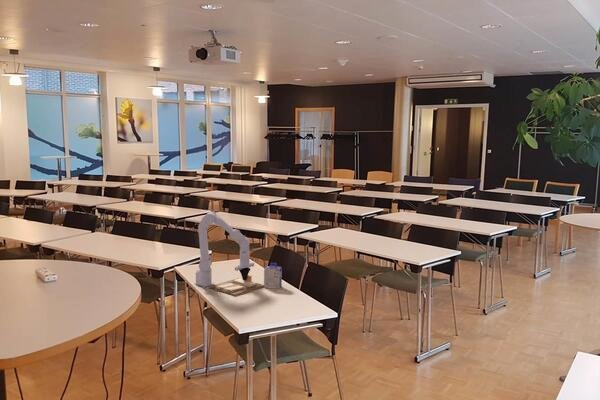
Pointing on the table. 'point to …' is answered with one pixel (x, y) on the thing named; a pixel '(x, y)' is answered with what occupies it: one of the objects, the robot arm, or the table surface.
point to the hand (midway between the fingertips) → (244, 280)
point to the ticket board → (234, 288)
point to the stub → (245, 281)
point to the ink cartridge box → (273, 276)
